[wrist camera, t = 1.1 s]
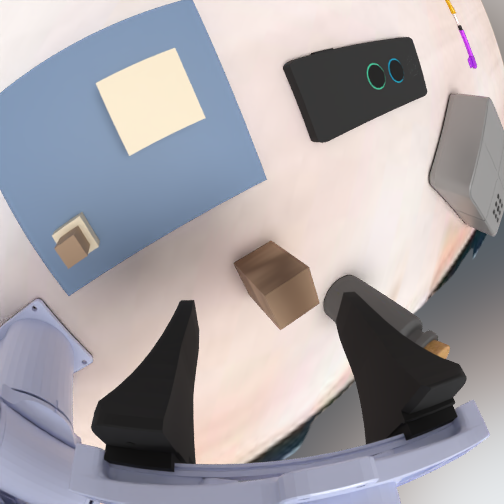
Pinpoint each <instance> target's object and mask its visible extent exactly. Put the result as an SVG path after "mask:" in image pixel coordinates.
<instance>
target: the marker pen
mask: <svg viewBox="0 0 504 504" xmlns="http://www.w3.org/2000/svg"><path fill="white" fill-rule="evenodd" d="M445 1H446V3H447V5H448V7H449V9H450V11H451V13H452V14H453V15H454V14H455V13H456V12H455V10H454V8H453V7H452V5H451V3H450V1H449V0H445ZM454 17H455V15H454ZM455 19H456V17H455ZM456 21H457V19H456ZM457 23H458V21H457ZM458 28H459V31H460V33H461V36H462V38H463V41H464V43H465V46H466V49H467V51H468V54H469V58H468V62H469V65H470V68H472V67H473V68H474V69H476V68H477V64H476V61H475V58H474V56H473V54H472V51H471V48H470V46H469V43H468V40H467V38H466V35H465V33H464V31H463V29H462V27H461V25H459V23H458Z"/></svg>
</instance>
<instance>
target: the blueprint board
mask: <svg viewBox="0 0 504 504" xmlns="http://www.w3.org/2000/svg"><path fill="white" fill-rule="evenodd" d="M265 180H267V179H266V176H265V173H264V170H263V168H262V165H261V163H260V160H259V157H258V155H257V152H256V149H255V147H254V144H253V142H252V139H251V136H250V134H249V131H248V129H247V126H246V124H245V121H244V119H243V116H242V114H241V111H240V109H239V106H238V104H237V101H236V99H235V96H234V94H233V91H232V89H231V87H230V84H229V82H228V79H227V77H226V75H225V72H224V70H223V68H222V65H221V63H220V60H219V58H218V56H217V54H216V51H215V49H214V47H213V44H212V42H211V40H210V37H209V35H208V33H207V31H206V28H205V26H204V24H203V22H202V20H201V17H200V15H199V13H198V11H197V9H196V7H195V4H194V2H193V0H181V1H178V2H174V3H171V4H168V5H164V6H161V7H158V8H155V9H152V10H149V11H146V12H143V13H141V14H138V15H135V16H133V17H130V18H127V19H125V20H123V21H120V22H118V23H115V24H113V25H111V26H109V27H106V28H104V29H102V30H100V31H98V32H96V33H93V34H91V35H89V36H87V37H85V38H84V39H82V40H80V41H78V42H76V43H74V44H72V45H70V46H69V47H67V48H65V49H63V50H62V51H60V52H58V53H57V54H55V55H53V56H52V57H50V58H48V59H47V60H45V61H44V62H42V63H41V64H39V65H38V66H36V67H35V68H33V69H32V70H30V71H29V72H27V73H26V74H24V75H23V76H22V77H20V78H19V79H18V80H16V81H15V82H14V83H12V84H11V85H10V86H8V87H7V88H6V89H5V90H3V91H2V92H1V93H0V190H1V192H2V194H3V196H4V198H5V200H6V201H7V203H8V205H9V207H10V209H11V211H12V212H13V214H14V216H15V218H16V219H17V221H18V223H19V225H20V226H21V228H22V230H23V231H24V233H25V234H26V236H27V238H28V239H29V241H30V242H31V244H32V246H33V247H34V249H35V250H36V252H37V253H38V255H39V256H40V258H41V259H42V261H43V262H44V263H45V265H46V266H47V268H48V269H49V271H50V272H51V273H52V275H53V276H54V277H55V279H56V280H57V281H58V283H59V284H60V285H61V287H62V288H63V289H64V291H65V292H66V293H67V295H68V296H70V295H71V294H73V293H74V292H76V291H77V290H79V289H80V288H82V287H83V286H85V285H86V284H88V283H89V282H91V281H92V280H94V279H96V278H97V277H99V276H100V275H102V274H103V273H105V272H106V271H108V270H109V269H111V268H113V267H114V266H116V265H117V264H119V263H121V262H122V261H124V260H125V259H127V258H129V257H130V256H132V255H133V254H135V253H137V252H138V251H140V250H142V249H143V248H145V247H147V246H148V245H150V244H151V243H153V242H155V241H157V240H158V239H160V238H162V237H163V236H165V235H167V234H168V233H170V232H172V231H173V230H175V229H177V228H179V227H180V226H182V225H184V224H186V223H187V222H189V221H191V220H193V219H194V218H196V217H198V216H200V215H201V214H203V213H205V212H207V211H209V210H210V209H212V208H214V207H216V206H218V205H219V204H221V203H223V202H225V201H227V200H229V199H231V198H232V197H234V196H236V195H238V194H240V193H242V192H244V191H245V190H247V189H249V188H251V187H253V186H255V185H257V184H259V183H261V182H263V181H265Z"/></svg>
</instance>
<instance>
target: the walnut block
mask: <svg viewBox="0 0 504 504" xmlns="http://www.w3.org/2000/svg"><path fill="white" fill-rule="evenodd" d="M234 265H235V267H236V269H237V271H238V273H239V275H240V277H241V279H242V281H243V283H244V285H245V287H246V289H247V291H248V293H249V295H250V296H251V297H252V299H253V300H254V301H255V302H256V303H257V304H258V305H259V307H260V308H261V309H262V310H263V311H264V312H265V313H266V315H267V316H268V317H269V318H270V319H271V320H272V321H273V322H274V324H275V325H276V326H277V327H278V328H279V329H280V330H281V329H283V328H284V327H286V326H287V325H289V324H290V323H292V322H293V321H295V320H296V319H298V318H299V317H301V316H302V315H303V314H305V313H306V312H308V311H309V310H311V309H312V308H313V307H315V306H316V305H318V304H319V299H318V296H317V293H316V289H315V286H314V282H313V279H312V276H311V272H310V269H309V267H308V266H307V265H305V264H304V263H302V262H301V261H300V260H298V259H297V258H295V257H294V256H292V255H291V254H290V253H288V252H287V251H285V250H284V249H282V248H281V247H280V246H278V245H277V244H275V243H274V242H272V241H270V242H268V243H266V244H265V245H263V246H261V247H260V248H258V249H256V250H255V251H253V252H251V253H250V254H248V255H246V256H245V257H243V258H241V259H240V260H238V261H236V262H235V263H234Z"/></svg>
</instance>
